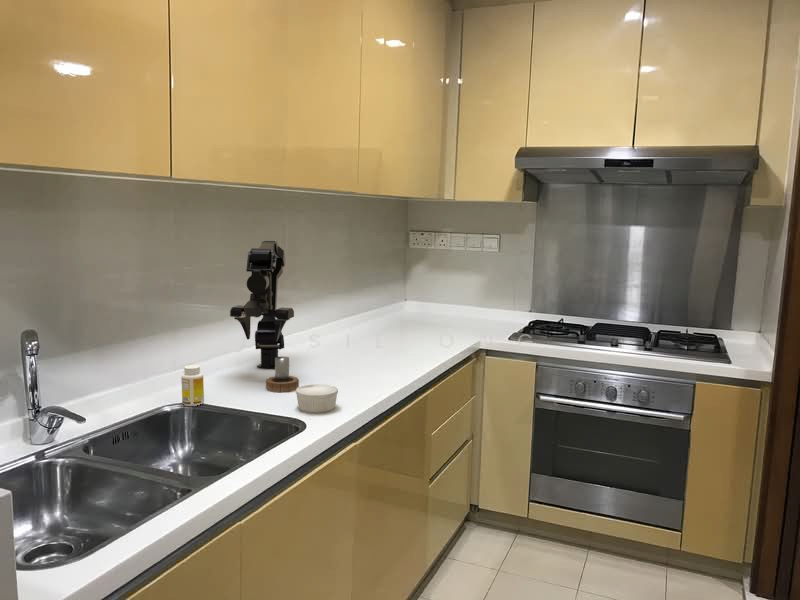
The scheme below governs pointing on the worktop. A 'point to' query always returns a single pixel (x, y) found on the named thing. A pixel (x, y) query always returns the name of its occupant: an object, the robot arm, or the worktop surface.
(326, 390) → the ramekin
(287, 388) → the brown segmented ring
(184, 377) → the supplement bottle
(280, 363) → the grey metal peg
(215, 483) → the worktop surface
